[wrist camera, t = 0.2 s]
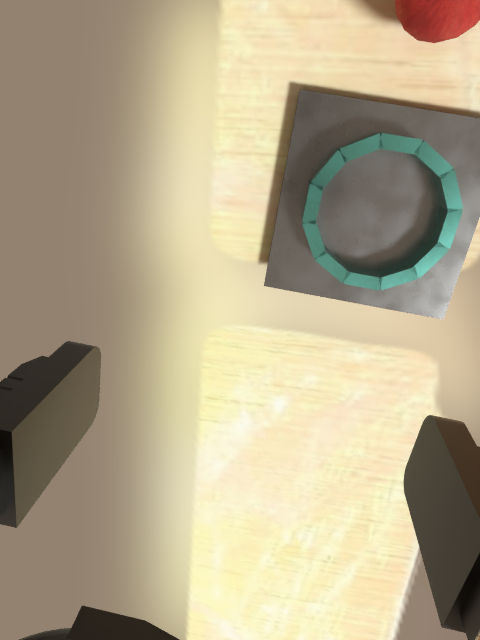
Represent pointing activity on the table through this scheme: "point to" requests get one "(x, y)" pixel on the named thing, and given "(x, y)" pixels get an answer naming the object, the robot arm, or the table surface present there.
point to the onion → (437, 18)
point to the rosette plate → (376, 203)
